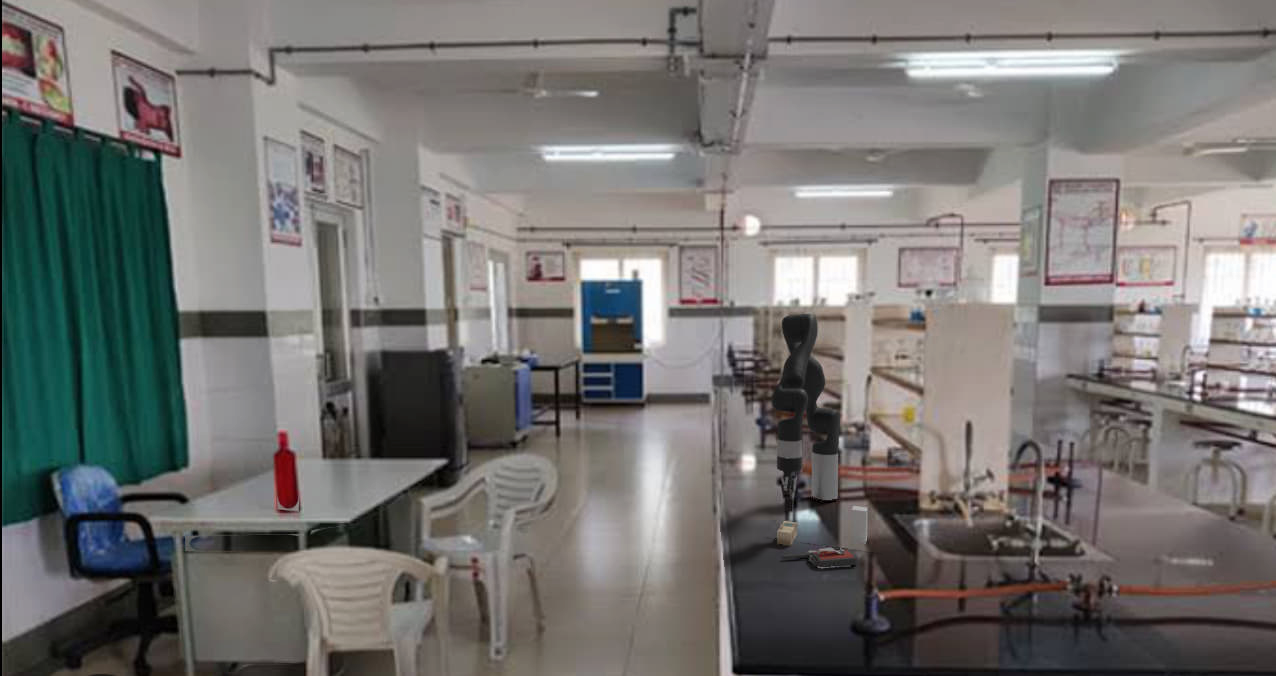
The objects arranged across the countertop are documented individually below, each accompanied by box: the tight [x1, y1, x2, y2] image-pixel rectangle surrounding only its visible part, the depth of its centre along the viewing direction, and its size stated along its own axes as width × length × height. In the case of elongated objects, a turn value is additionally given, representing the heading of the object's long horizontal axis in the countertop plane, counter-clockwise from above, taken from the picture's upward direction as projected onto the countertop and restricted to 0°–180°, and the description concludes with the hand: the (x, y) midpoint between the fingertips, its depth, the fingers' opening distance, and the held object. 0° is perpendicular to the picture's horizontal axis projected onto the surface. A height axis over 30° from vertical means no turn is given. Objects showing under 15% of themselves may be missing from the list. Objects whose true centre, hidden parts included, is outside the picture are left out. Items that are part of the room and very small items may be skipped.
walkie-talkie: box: [781, 547, 859, 567], centre depth 180 cm, size 9×4×20 cm
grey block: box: [851, 505, 868, 544], centre depth 195 cm, size 4×4×10 cm
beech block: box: [776, 520, 798, 546], centre depth 197 cm, size 4×4×10 cm
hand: (789, 510), depth 198 cm, fingers closed
